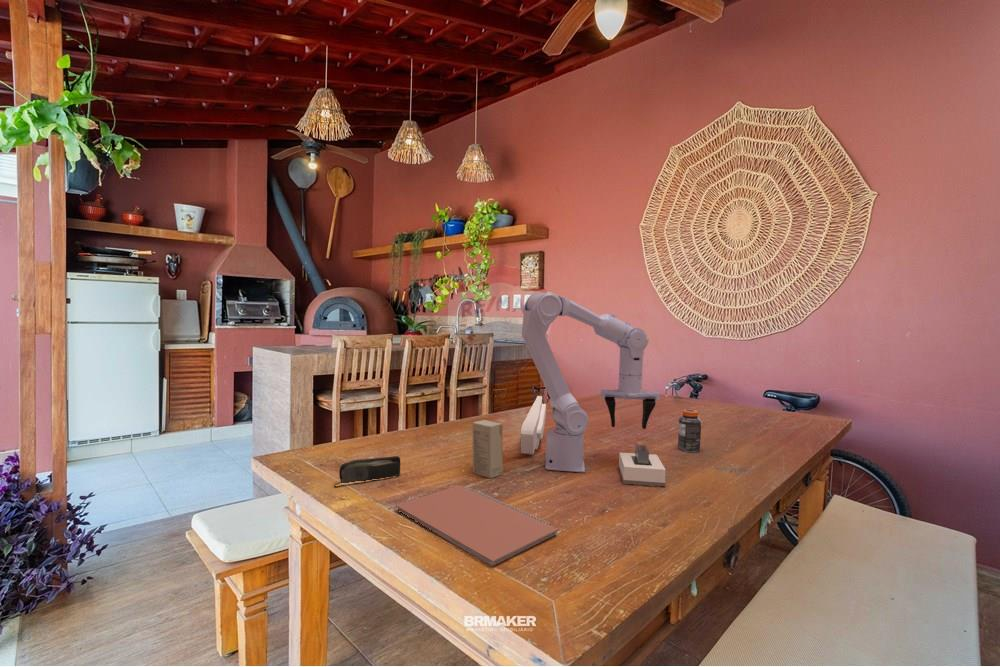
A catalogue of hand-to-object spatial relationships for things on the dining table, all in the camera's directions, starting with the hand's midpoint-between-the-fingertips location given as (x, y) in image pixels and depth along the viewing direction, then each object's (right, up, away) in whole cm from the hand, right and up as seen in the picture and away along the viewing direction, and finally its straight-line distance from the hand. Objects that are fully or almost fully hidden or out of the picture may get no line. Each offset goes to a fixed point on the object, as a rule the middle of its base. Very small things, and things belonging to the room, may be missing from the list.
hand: (628, 427), depth 125 cm
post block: (0, -10, -10) cm, 14 cm away
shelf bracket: (-23, -8, +15) cm, 29 cm away
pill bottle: (+21, -9, +14) cm, 27 cm away
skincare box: (-36, -9, -9) cm, 38 cm away
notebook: (-37, -12, -35) cm, 53 cm away
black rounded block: (-63, -9, -16) cm, 65 cm away
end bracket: (0, -9, -10) cm, 13 cm away
